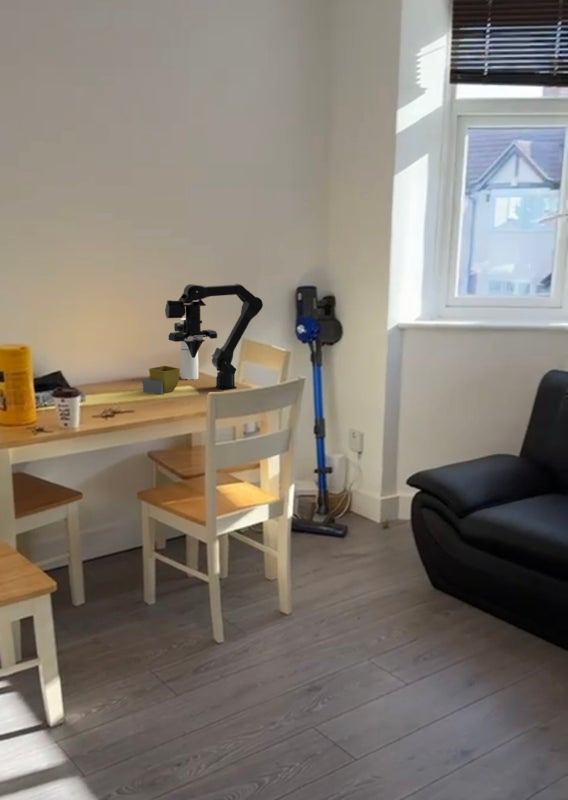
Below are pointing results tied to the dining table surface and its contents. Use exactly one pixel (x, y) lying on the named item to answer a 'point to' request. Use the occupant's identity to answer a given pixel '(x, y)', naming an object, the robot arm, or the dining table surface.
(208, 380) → the dining table surface
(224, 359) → the robot arm
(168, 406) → the dining table surface
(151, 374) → the flower pot
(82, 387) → the dining table surface
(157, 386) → the V-block
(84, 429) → the dining table surface
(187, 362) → the cylindrical container
